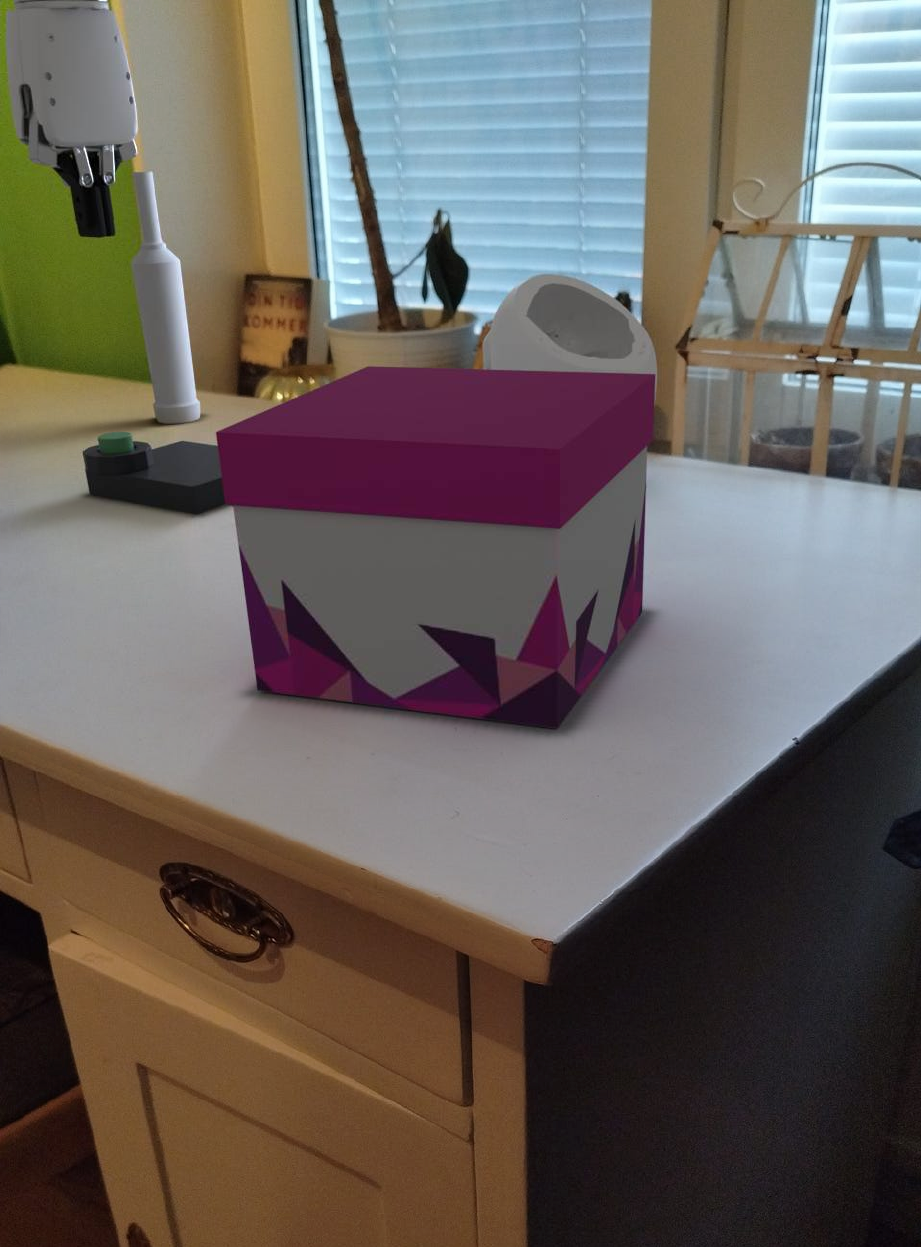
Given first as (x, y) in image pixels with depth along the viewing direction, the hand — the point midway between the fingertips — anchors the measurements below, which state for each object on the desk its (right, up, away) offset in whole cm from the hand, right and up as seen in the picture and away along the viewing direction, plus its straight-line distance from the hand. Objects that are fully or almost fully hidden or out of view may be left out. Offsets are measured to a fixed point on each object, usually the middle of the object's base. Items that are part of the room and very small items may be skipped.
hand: (97, 236), depth 112 cm
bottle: (0, -7, +31) cm, 32 cm away
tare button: (+1, -19, +1) cm, 19 cm away
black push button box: (+8, -22, +4) cm, 23 cm away
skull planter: (+41, -21, +2) cm, 46 cm away
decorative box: (+32, -42, -34) cm, 63 cm away
